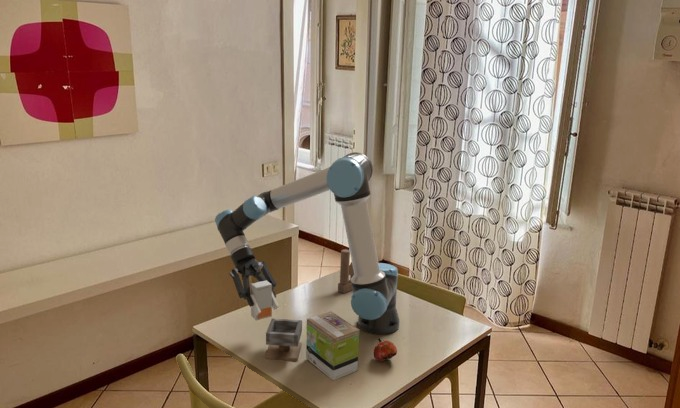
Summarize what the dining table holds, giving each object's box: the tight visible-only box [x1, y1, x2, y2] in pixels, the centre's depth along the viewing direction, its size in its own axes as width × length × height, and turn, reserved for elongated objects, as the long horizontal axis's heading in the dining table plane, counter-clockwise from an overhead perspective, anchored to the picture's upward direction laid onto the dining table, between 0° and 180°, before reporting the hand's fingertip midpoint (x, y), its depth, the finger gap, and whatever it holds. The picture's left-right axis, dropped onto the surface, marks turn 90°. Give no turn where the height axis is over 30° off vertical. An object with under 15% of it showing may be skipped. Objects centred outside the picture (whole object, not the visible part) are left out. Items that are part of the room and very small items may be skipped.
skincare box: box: [250, 280, 273, 321], centre depth 186 cm, size 6×4×12 cm
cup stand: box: [265, 318, 303, 362], centre depth 180 cm, size 10×10×9 cm
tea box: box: [305, 310, 360, 381], centre depth 172 cm, size 15×10×15 cm
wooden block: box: [337, 248, 354, 294], centre depth 229 cm, size 4×11×18 cm, turn 135°
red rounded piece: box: [373, 337, 398, 368], centre depth 177 cm, size 7×7×10 cm
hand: (267, 310), depth 184 cm, fingers closed on skincare box, 6 cm apart
